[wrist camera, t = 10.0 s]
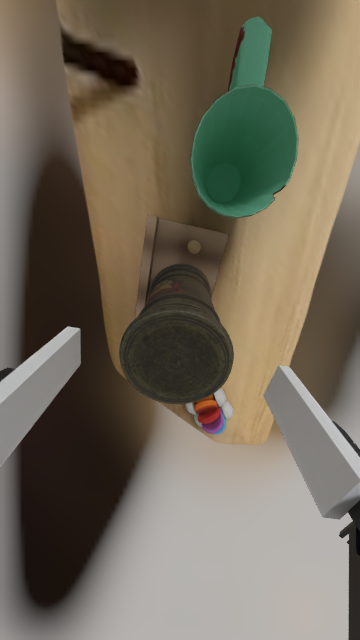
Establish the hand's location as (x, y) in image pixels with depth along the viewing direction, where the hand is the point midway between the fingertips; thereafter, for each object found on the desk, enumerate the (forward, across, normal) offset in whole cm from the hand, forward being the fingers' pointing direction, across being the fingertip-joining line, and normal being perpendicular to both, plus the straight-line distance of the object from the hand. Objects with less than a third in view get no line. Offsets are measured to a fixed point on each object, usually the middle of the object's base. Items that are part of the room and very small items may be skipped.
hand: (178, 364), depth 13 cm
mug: (+22, +2, +17) cm, 28 cm away
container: (+19, 0, -1) cm, 19 cm away
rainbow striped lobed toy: (+22, +11, -24) cm, 35 cm away
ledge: (+22, -1, -1) cm, 22 cm away
